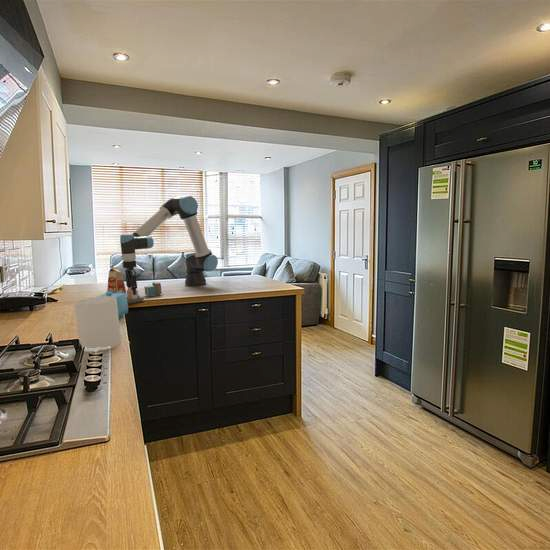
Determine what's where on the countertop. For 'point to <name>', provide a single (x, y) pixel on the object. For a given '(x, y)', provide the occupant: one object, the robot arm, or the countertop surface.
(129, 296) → the stub
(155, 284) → the teal brown block
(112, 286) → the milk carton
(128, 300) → the tray
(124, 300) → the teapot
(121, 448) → the countertop surface
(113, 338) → the container
